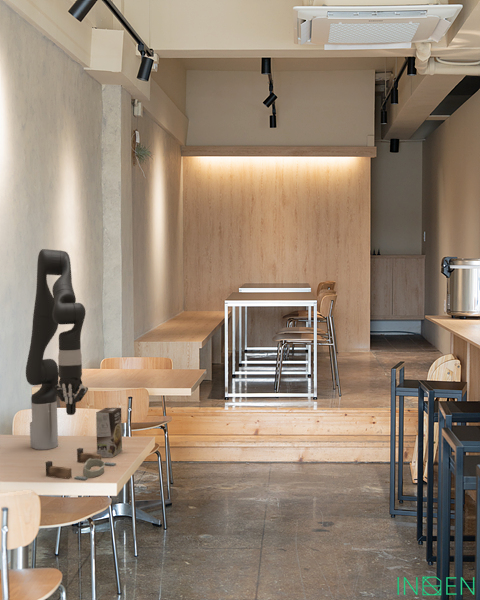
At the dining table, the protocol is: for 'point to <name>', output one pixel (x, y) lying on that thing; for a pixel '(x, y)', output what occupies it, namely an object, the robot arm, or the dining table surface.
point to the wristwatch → (93, 463)
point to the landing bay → (87, 477)
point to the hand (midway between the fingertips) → (71, 414)
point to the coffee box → (109, 432)
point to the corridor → (66, 472)
